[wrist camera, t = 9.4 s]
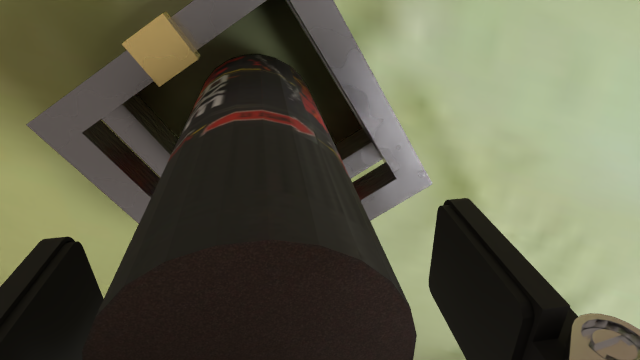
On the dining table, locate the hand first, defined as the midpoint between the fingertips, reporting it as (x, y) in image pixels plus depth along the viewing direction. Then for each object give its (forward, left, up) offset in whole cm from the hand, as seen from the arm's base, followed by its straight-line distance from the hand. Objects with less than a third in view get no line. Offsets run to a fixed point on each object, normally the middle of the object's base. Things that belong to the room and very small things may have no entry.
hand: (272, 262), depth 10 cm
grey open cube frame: (+1, 0, -12) cm, 12 cm away
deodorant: (0, 0, -12) cm, 12 cm away
